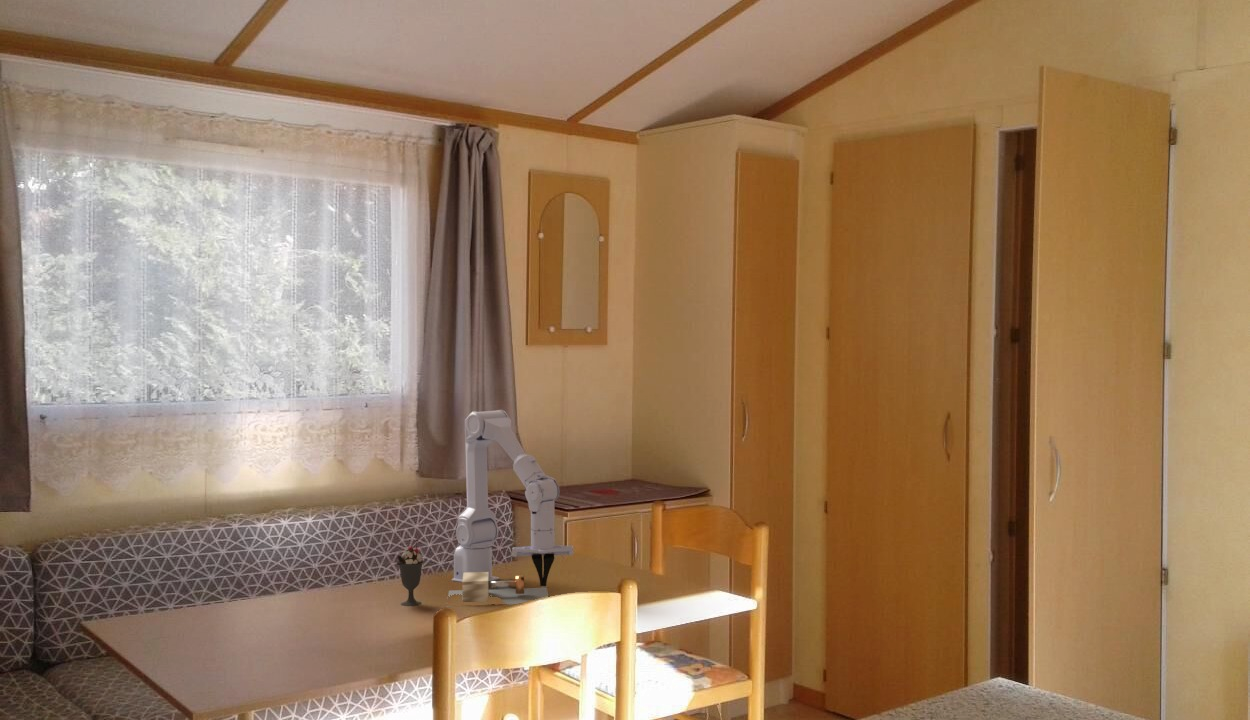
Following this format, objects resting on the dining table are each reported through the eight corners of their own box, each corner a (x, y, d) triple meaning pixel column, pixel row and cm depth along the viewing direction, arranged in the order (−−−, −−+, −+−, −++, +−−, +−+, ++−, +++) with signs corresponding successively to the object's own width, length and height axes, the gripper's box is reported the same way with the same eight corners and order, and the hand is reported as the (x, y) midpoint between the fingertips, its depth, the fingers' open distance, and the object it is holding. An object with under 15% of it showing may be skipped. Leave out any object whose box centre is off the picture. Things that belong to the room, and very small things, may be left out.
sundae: (428, 601, 267) (428, 538, 266) (420, 608, 260) (420, 543, 260) (401, 600, 267) (401, 537, 267) (393, 607, 261) (392, 543, 260)
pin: (481, 596, 267) (481, 578, 267) (482, 592, 272) (481, 574, 271) (524, 595, 268) (524, 577, 268) (523, 591, 273) (523, 573, 273)
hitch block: (462, 603, 264) (462, 581, 264) (463, 593, 274) (463, 572, 274) (488, 602, 265) (488, 581, 264) (488, 592, 275) (488, 571, 274)
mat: (446, 607, 261) (446, 606, 261) (449, 591, 277) (449, 590, 277) (549, 604, 263) (549, 603, 263) (547, 588, 279) (547, 587, 279)
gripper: (512, 532, 266) (513, 590, 266) (573, 531, 267) (574, 588, 268) (512, 527, 273) (512, 583, 273) (572, 526, 274) (572, 581, 275)
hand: (543, 585), depth 271 cm, fingers closed
